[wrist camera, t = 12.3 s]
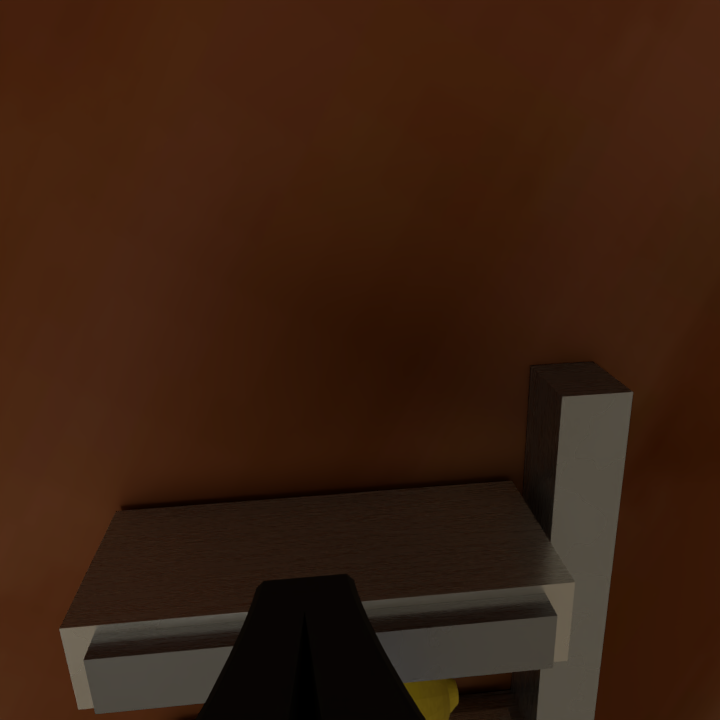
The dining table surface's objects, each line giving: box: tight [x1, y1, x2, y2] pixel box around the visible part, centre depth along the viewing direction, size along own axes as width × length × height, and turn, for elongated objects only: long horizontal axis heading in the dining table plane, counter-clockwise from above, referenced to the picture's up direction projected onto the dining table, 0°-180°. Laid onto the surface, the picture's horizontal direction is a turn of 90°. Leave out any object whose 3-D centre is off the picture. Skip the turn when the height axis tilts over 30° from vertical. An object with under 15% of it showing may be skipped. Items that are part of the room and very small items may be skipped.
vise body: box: [449, 362, 633, 720], centre depth 19 cm, size 17×15×6 cm
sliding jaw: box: [59, 481, 575, 714], centre depth 18 cm, size 2×12×6 cm, turn 92°
